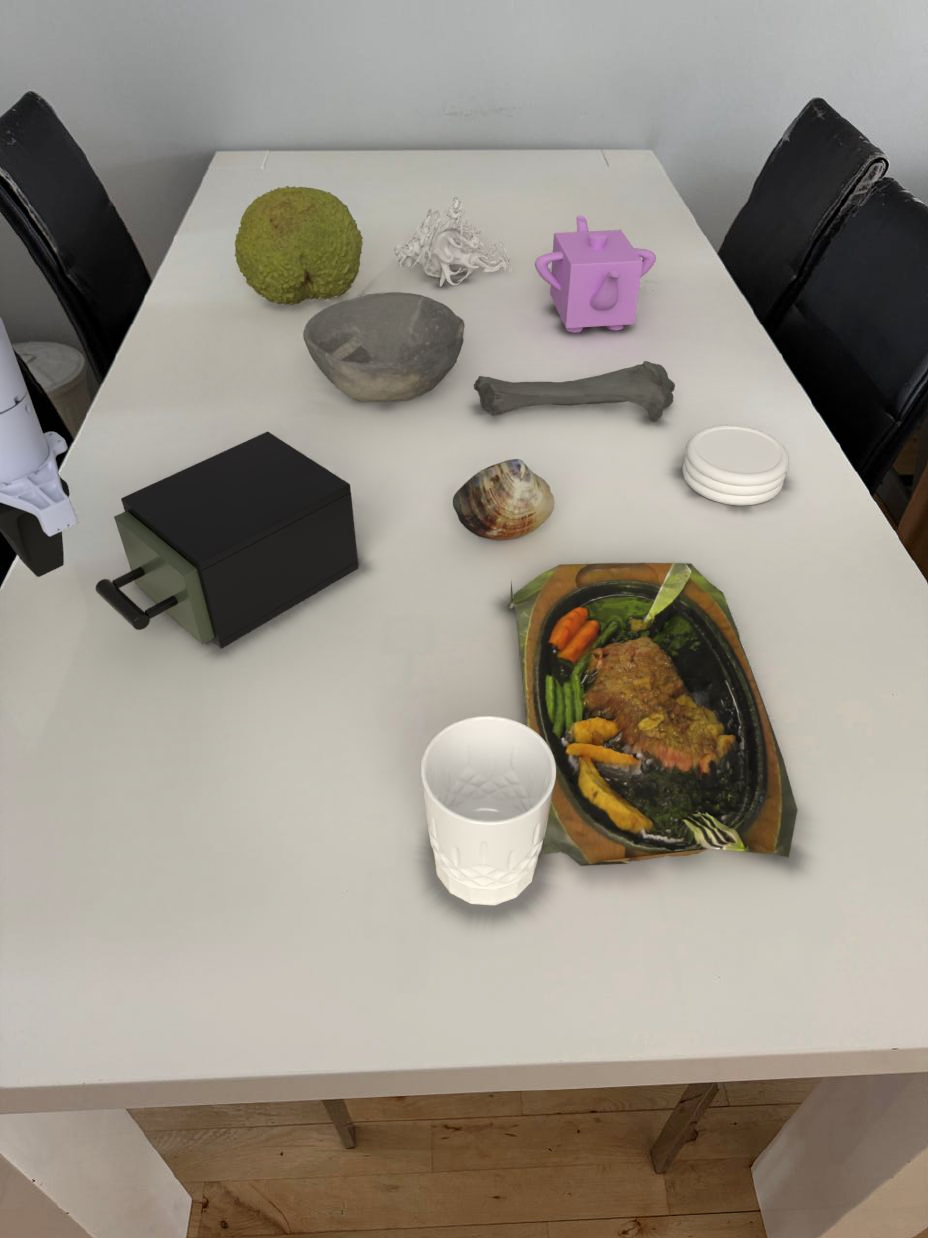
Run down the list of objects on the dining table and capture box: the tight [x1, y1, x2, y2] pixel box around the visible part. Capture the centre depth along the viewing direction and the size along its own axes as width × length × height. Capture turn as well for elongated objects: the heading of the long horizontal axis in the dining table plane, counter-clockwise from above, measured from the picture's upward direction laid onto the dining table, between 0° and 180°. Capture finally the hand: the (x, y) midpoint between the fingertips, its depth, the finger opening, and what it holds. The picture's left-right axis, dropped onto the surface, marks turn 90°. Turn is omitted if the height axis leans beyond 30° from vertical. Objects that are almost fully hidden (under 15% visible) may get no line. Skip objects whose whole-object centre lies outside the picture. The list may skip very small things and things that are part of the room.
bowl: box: [302, 291, 466, 403], centre depth 103 cm, size 18×18×8 cm
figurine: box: [393, 195, 514, 287], centre depth 125 cm, size 13×15×12 cm
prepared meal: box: [507, 562, 798, 867], centre depth 69 cm, size 28×4×18 cm
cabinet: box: [120, 431, 359, 649], centre depth 78 cm, size 15×12×9 cm
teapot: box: [534, 215, 657, 334], centre depth 115 cm, size 15×13×11 cm
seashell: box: [452, 458, 556, 541], centre depth 82 cm, size 10×6×8 cm, turn 102°
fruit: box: [234, 185, 364, 306], centre depth 119 cm, size 16×14×15 cm
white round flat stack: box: [681, 424, 790, 506], centre depth 91 cm, size 10×10×4 cm
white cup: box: [420, 715, 556, 906], centre depth 57 cm, size 8×8×10 cm
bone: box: [473, 360, 676, 423], centre depth 99 cm, size 22×6×6 cm, turn 90°
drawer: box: [95, 511, 214, 645], centre depth 76 cm, size 18×10×7 cm, turn 135°
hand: (46, 566), depth 66 cm, fingers closed
